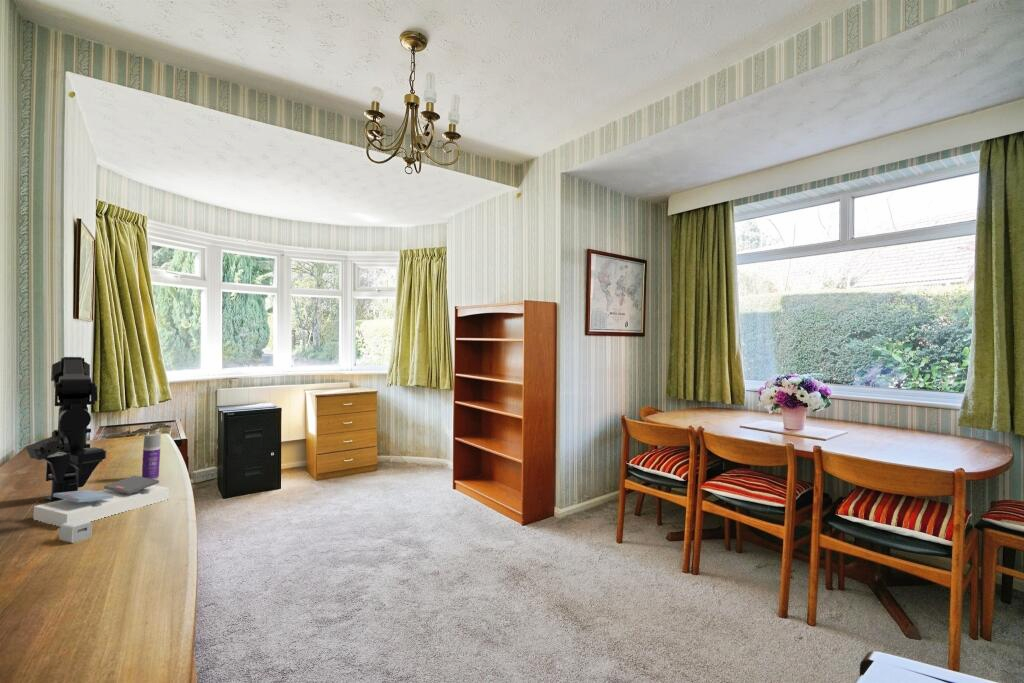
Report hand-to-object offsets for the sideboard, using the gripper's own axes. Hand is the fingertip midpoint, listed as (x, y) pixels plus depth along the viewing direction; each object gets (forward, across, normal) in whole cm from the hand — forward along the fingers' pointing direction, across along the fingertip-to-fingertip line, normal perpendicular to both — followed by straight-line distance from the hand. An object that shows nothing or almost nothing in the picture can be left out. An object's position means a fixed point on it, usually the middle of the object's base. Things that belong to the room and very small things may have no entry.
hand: (69, 484), depth 124 cm
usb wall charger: (+9, +15, -7) cm, 19 cm away
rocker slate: (+4, 0, +3) cm, 5 cm away
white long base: (+9, 0, +9) cm, 13 cm away
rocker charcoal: (+4, 0, +15) cm, 16 cm away
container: (+9, -20, +33) cm, 40 cm away
